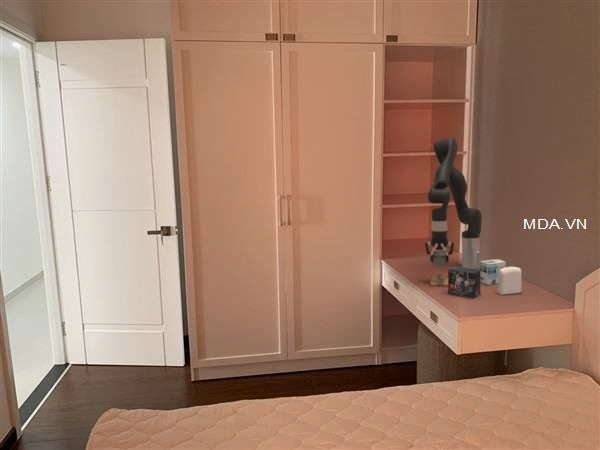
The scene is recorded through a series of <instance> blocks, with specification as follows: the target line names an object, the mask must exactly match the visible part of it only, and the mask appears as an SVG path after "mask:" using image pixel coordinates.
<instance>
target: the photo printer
mask: <svg viewBox="0 0 600 450" xmlns="http://www.w3.org/2000/svg"><path fill="white" fill-rule="evenodd" d="M497 289H498V294H499V295H513V294H520V293H522V269H521V268H520V267H517V266H506V267H505V268H502V269H500V270H499V272H498V288H497Z"/></svg>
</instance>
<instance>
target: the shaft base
mask: <svg viewBox="0 0 600 450" xmlns="http://www.w3.org/2000/svg"><path fill="white" fill-rule="evenodd" d="M429 286H430V287H437V288H438V287H439V288H440V287H441V288H442V287H444V288H448V277H444V273H436V277H430V285H429Z"/></svg>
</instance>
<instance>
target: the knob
mask: <svg viewBox="0 0 600 450" xmlns="http://www.w3.org/2000/svg"><path fill="white" fill-rule="evenodd" d="M446 266H447V263H446V254H445V252H444V250H440V249H439V250H436V249H435V251H434V253H433V263H432V267H446Z"/></svg>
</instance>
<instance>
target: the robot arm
mask: <svg viewBox="0 0 600 450" xmlns="http://www.w3.org/2000/svg"><path fill="white" fill-rule="evenodd" d="M433 151H434V154H435V157H436V158H437V161H438V163H439V166H438V167H437V168H436V171H435V173H434V174H435V175H434V179H433V183H432V186H431V188H430V189H429V191H428V194H427V200H428V202H429V203H430V204H434V205H435V204H440V205H441V206H440V207H437V208H433V209H432V211H431V224H430V225H431V228H430V229H431V239H430V241H425V242H424V243H425V244H424V245H425V251H426V255H430V257H429V258H430V262H431V263H432V264H433V253H434V251H435V250H440V251H444V252H445V254H446V264H447V263H448V262H449V256H450V255H451V256H452V255H453V252H454V251H453V250H454V245H455V243H454V241H448V221H447V217H448V216H447V215H448V213H447V212H448V207H449V203H450V200H451V197H452V199H453V203H454V205H455V210H456V213H457V217H458V220H459V222H460V223H461V224H463V225H467V229H466V230H463V231H462V232H461V267H464V268H470V269H477V270H480V261H481V259H480V258H481V255H480V254H481V253H480V235H481V232H482V219H483V217H482V211H480V210H479V209H477V208H472V207H469V205H468V204H467V203H468V202H467V200H466V199H467V198H466V196H467V193H468V184H467V181H466V177H465V175H464V174H463V172H462V171H461V170H459V168H457V167H456V166H454V162H455V160H456V158H457V157H456V156H457V153H458V143H457V140H456V139H455V138H454V137H447V138H443V139H439V140H437V141H434V142H433ZM447 188H448V189H447ZM430 245H431V246H432V249H431V251H430V248H429V247H430ZM447 246H449V247H450V249H449V251H448V250H447Z"/></svg>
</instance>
